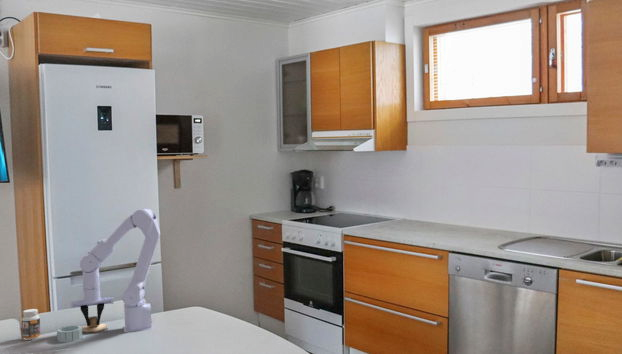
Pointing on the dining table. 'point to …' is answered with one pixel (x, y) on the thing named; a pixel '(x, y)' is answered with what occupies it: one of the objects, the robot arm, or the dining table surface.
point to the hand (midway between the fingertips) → (93, 325)
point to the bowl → (69, 333)
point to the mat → (96, 332)
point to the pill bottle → (30, 324)
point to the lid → (93, 326)
